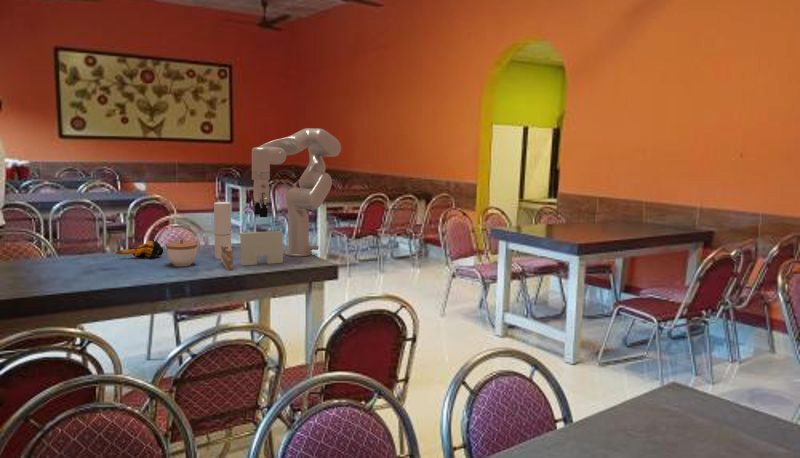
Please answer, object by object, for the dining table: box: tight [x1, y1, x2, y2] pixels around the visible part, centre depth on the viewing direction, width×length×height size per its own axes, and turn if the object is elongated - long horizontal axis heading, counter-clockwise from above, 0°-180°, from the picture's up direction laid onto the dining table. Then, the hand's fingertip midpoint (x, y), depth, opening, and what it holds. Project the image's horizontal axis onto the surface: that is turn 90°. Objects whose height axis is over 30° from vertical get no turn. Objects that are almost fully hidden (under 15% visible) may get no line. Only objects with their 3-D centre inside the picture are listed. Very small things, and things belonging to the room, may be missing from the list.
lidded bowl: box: [165, 238, 198, 267], centre depth 262 cm, size 13×13×11 cm
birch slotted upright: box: [220, 245, 234, 271], centre depth 261 cm, size 2×15×8 cm, turn 27°
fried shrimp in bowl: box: [115, 238, 164, 260], centre depth 273 cm, size 9×11×18 cm
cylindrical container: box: [213, 201, 232, 260], centre depth 278 cm, size 7×7×25 cm
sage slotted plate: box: [239, 230, 284, 267], centre depth 268 cm, size 18×2×14 cm, turn 116°
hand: (260, 215), depth 265 cm, fingers open, 9 cm apart
